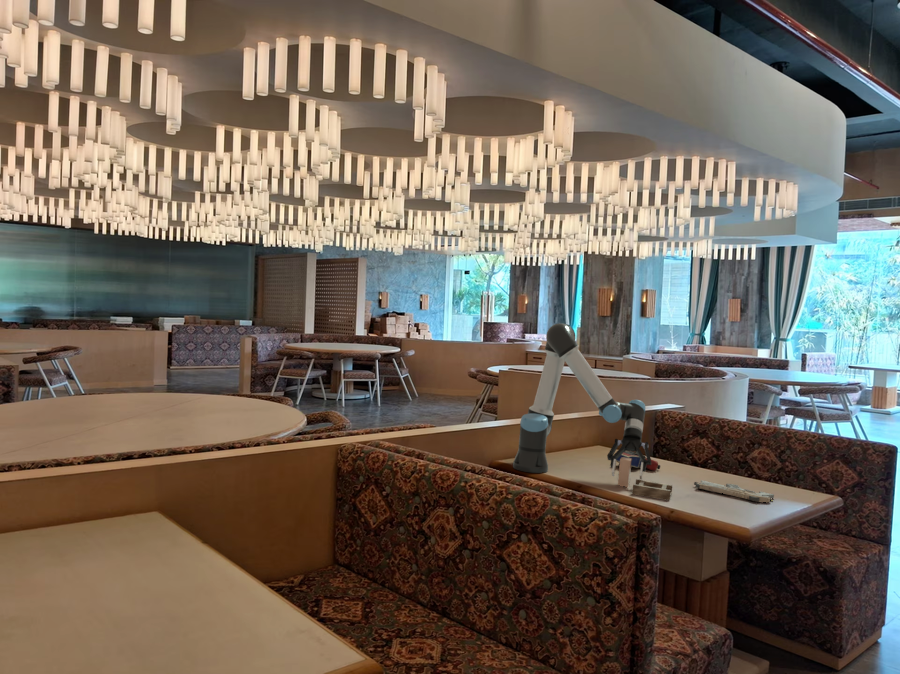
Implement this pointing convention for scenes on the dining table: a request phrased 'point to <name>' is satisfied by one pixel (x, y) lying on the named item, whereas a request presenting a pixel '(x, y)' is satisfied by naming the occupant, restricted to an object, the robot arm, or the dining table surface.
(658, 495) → the rack
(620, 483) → the strip
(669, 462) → the dining table surface
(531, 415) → the robot arm
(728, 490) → the grey flat slab
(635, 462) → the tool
